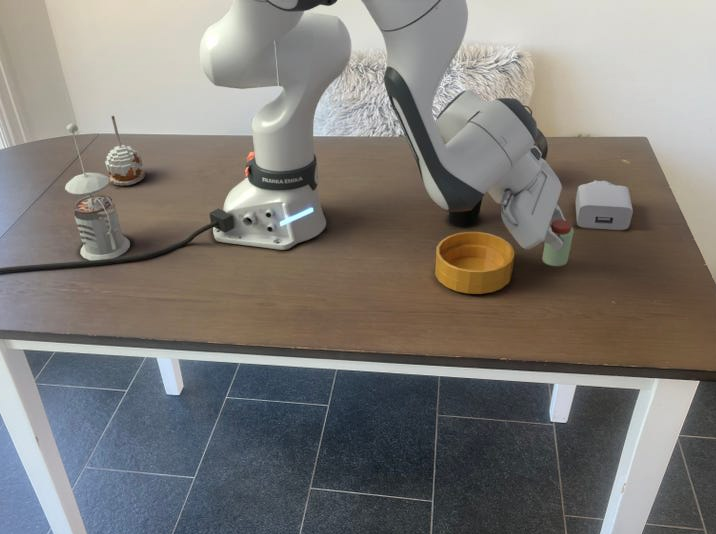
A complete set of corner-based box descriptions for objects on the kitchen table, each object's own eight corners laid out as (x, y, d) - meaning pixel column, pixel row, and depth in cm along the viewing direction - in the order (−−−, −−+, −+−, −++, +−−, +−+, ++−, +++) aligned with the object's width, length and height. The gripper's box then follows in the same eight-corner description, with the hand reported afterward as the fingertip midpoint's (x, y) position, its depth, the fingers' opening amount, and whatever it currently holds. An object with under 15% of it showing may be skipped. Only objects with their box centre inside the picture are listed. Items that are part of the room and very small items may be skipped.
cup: (487, 214, 141) (493, 156, 134) (477, 232, 136) (483, 174, 128) (449, 208, 144) (453, 152, 136) (438, 226, 139) (442, 168, 131)
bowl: (435, 295, 121) (436, 271, 118) (434, 255, 131) (436, 231, 128) (513, 297, 119) (517, 272, 116) (507, 256, 129) (511, 232, 126)
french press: (112, 229, 146) (80, 109, 130) (145, 248, 140) (115, 124, 124) (70, 249, 141) (31, 126, 125) (102, 269, 135) (65, 143, 119)
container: (543, 266, 123) (550, 230, 118) (540, 253, 126) (547, 217, 122) (569, 266, 122) (576, 230, 118) (565, 253, 125) (572, 218, 121)
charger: (621, 193, 144) (628, 230, 133) (573, 190, 146) (576, 227, 135) (626, 171, 141) (634, 207, 130) (577, 169, 143) (580, 204, 132)
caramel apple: (148, 182, 162) (134, 117, 152) (114, 190, 160) (97, 125, 150) (140, 169, 168) (126, 106, 158) (108, 177, 166) (91, 113, 156)
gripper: (514, 195, 109) (569, 261, 112) (538, 141, 123) (586, 200, 126) (482, 217, 113) (536, 279, 116) (508, 162, 127) (556, 219, 130)
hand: (562, 238), depth 121 cm, fingers closed on container, 4 cm apart
